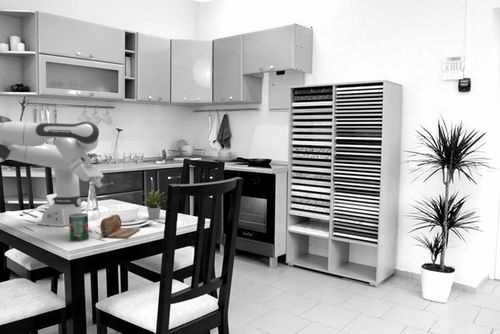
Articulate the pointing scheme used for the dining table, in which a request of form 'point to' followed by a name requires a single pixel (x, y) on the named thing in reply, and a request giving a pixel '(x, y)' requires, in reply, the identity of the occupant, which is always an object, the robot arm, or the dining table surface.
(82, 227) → the canned tomato
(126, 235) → the walnut board
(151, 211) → the house plant
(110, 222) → the brown rounded block
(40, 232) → the dining table surface
